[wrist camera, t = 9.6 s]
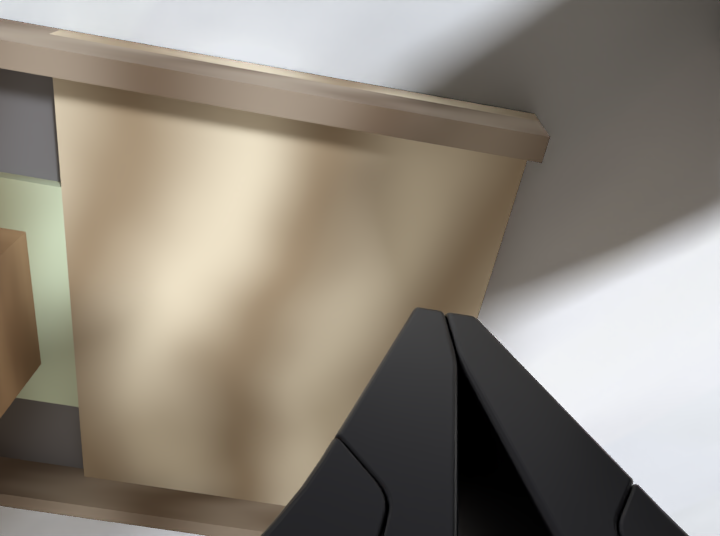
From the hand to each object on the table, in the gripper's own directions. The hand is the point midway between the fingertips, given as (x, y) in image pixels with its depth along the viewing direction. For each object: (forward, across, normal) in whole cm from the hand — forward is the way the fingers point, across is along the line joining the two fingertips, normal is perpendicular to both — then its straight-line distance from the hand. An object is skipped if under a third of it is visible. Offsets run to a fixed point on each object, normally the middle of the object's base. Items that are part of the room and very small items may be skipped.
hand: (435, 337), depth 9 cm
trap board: (+13, +7, +10) cm, 18 cm away
